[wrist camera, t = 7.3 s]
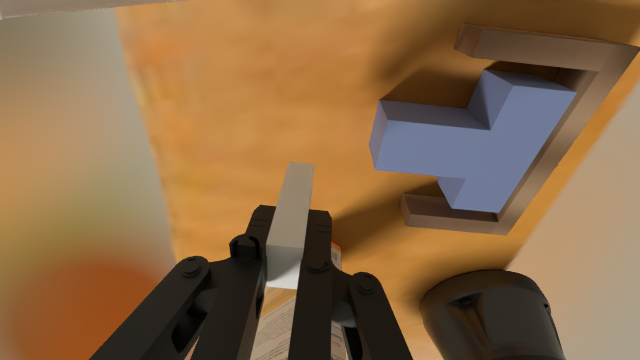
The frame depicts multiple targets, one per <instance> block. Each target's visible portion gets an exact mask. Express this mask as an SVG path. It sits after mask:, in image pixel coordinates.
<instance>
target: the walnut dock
mask: <svg viewBox="0 0 640 360" xmlns="http://www.w3.org/2000/svg"><path fill="white" fill-rule="evenodd" d="M454 49H456V50H458V51H460V52H462V53H464V54H466V55H468V56H470V57H472V58H481V59H490V60H499V61H509V62H518V63H527V64H536V65H545V66H554V67H561V68H560V70H559V72H558V74H557V75H556V77H555V79H554V80H553V82H555V83H557V84H559V85H562V86H564V87H566V88H569V89H571V90H573V91H576V92H577V94H576V95H575V97H574V98H573V100H572V101H571V103H570V105H569V106H568V108H567V109H566V111H565V112H564V114H563V115H562V117H561V118H560V120H559V121H558V123H557V125H556V126H555V128H554V129H553V131H552V132H551V134H550V135H549V137H548V138H547V140H546V141H545V143H544V145H543V146H542V148H541V149H540V151H539V152H538V154H537V155H536V157H535V158H534V160H533V161H532V163H531V165H530V166H529V168H528V169H527V171H526V172H525V174H524V175H523V177H522V178H521V180H520V181H519V183H518V184H517V186H516V188H515V189H514V191H513V192H512V194H511V195H510V197H509V198H508V200H507V201H506V203H505V204H504V206H503V208H502V209H501V211H500V212H499V213H495V212H485V211H474V210H464V209H453V208H451V206H450V205H449V203H448V201H447V199H446V197H438V196H427V195H417V194H406V193H403V195H402V198H401V201H400V204H399V206H400V209H401V212H402V216H403V219H404V222H405V225H406V226H410V227H421V228H431V229H442V230H453V231H464V232H474V233H485V234H496V235H506V236H507V234H508V233H509V231H510V230H511V229H512V227H513V226H514V224H515V223H516V222H517V220H518V219H519V217H520V216H521V215H522V213H523V212H524V211H525V209H526V208H527V206H528V205H529V204H530V202H531V201H532V199H533V198H534V197H535V195H536V194H537V192H538V191H539V190H540V188H541V187H542V186H543V184H544V183H545V181H546V180H547V179H548V177H549V176H550V174H551V173H552V172H553V170H554V169H555V167H556V166H557V165H558V163H559V162H560V161H561V159H562V158H563V156H564V155H565V154H566V152H567V151H568V149H569V148H570V147H571V145H572V144H573V142H574V141H575V140H576V138H577V137H578V136H579V134H580V133H581V131H582V130H583V129H584V127H585V126H586V124H587V123H588V122H589V120H590V119H591V117H592V116H593V115H594V113H595V112H596V111H597V109H598V108H599V106H600V105H601V104H602V102H603V101H604V99H605V98H606V97H607V95H608V94H609V92H610V91H611V90H612V88H613V87H614V86H615V84H616V83H617V81H618V80H619V79H620V77H621V76H622V74H623V73H624V72H625V70H626V69H627V67H628V66H629V65H630V63H631V62H632V61H633V59H634V58H635V56H636V55H637V54H638V52H639V51H640V47H637V46H632V45H627V44H622V43H617V42H611V41H606V40H601V39H593V38H584V37H575V36H566V35H558V34H549V33H540V32H531V31H522V30H513V29H505V28H496V27H487V26H478V25H469V24H462V26H461V29H460V32H459V35H458V38H457V41H456V43H455V46H454Z"/></svg>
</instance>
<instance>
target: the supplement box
mask: <svg viewBox="0 0 640 360" xmlns="http://www.w3.org/2000/svg"><path fill="white" fill-rule="evenodd" d="M331 259H332V262H333V264H334V265H335V266H336V267H337V268H338V269H339V270H341V271H342V264H341V248H340V247H339V246H338V245H336V244H335V243H333V242H331ZM296 293H297V289H287V288H277V287H267V282H266V286H265V290H264V302H263V307H262V311H261V315H260V319H259V324H258V328H257V332H256V336H255V341H254V345H253V349H252V353H251V358H250V360H287V359H288V352H289V345H290V337H291V330H292V323H293V315H294V308H295V301H296ZM331 360H346V351H345V342H344V338H343V334H342V330H341V326H340V324H339V323H337V322H335V321H332V320H331Z"/></svg>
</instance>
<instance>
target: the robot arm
mask: <svg viewBox="0 0 640 360" xmlns="http://www.w3.org/2000/svg"><path fill="white" fill-rule="evenodd" d="M313 172H314V164H306V163H296V162H289V165H288V168H287V172H286V175H285V179H284V182H283V186H282V189H281V193H280V196H279V200H278V203H277V207H276V206H267V205H260V206H259V207H257V208H256V209H255V210H254V212H253V214H252V217H251V220H250V222H249V225H248V227H247V230H246V232H245V234H242V235H238V236H237V237H235V238H234V239H232V241H231V242H230V243H229V247H230V254H231V257H230V258H227V259H225V260H221V261H215V262H208V260H207V259H205V258H204V257H201V256H192V257H188V258H186V259H183V260H182V261H180V262H179V263H178V264H177V265H176V266H175V267H174V268H173V269H172V270H171V272H169V274H168V275H167V276H166V277H165V278H164V279H163V280H162V281H161V282H160V283H159V284H158V285H157V286H156V287H155V289H154V290H153V291H152V292H151V293H150V294H149V295H148V296H147V297H146V298H145V299H144V300H143V302H142V303H141V304H140V305H139V306H138V307H137V308H136V309H135V310H134V311H133V312H132V313H131V315H130V316H129V317H128V318H127V319H126V320H125V321H124V322H123V323H122V324H121V325H120V326H119V328H117V330H116V331H115V332H114V333H113V334H112V335H111V336H110V337H109V338H108V339H107V341H105V343H104V344H103V345H102V346H101V347H100V348H99V349H98V350H97V351H96V352H95V353H94V354H93V356H92V357H91V358H90V359H89V360H184V359H185V357H186V356H187V354H188V353H189V351H190V350H191V348H192V347H193V345H194V343H195V342H196V340H197V339H198V337H199V339H198V341H197V344H196V346H195V349H194V351H193V354H192V356H191V359H190V360H250V358H251V353H252V349H253V345H254V341H255V336H256V332H257V328H258V324H259V319H260V315H261V311H262V307H263V302H264V290H265V286H266V282H267V287H277V288H287V289H297V293H296V301H295V308H294V315H293V323H292V330H291V337H290V345H289V352H288V359H287V360H331V320H332V321H335V322H337V323H339V324H340V326H341V330H342V334H343V338H344V342H345V346H346V350H347V354H348V358H349V360H413V358H412V356H411V353H410V351H409V349H408V346H407V344H406V342H405V339H404V337H403V334H402V332H401V330H400V327H399V325H398V323H397V320H396V318H395V316H394V313H393V311H392V309H391V306H390V304H389V301H388V299H387V297H386V294H385V292H384V290H383V287H382V285H381V283H380V282H379V280H378V279H377V278H376V277H375V276H373V275H372V274H369V273H367V272H359V273H355V274H354V275H353V276H352V275H349V274H347V273H344V272H342V271H341V270H339V269H338V268H337V267H336V266H335V265H334V264H333V262H332V259H331V231H332V218H331V216H330V214H329V212H328V211H321V210H311V209H310V203H311V193H312V183H313ZM420 313H421V316H422V320H423V324H424V327H425V329H426V331H427V333H428V334H429V336H430V338H431V339H432V341H433V343H434V344H435V346H436V348H437V349H438V351H439V352H440V354H441V356H442V357H443V359H444V360H566V359H565V357H564V354H563V351H562V348H561V344H560V340H559V337H558V334H557V331H556V327H555V324H554V322H553V319H552V317H551V309H550V305H549V303H548V301H547V299H546V297H545V296H544V294H543V293H542V291H541V290H540V289H539V287H538V286H537V284H536V283H535V282H534V281H533V280H532V279H530V278H529V277H527V276H525V275H522V274H519V273H516V272H511V271H503V270H487V271H478V272H472V273H468V274H464V275H460V276H457V277H454V278H452V279H449V280H447V281H445V282H443V283H441V284H439V285H438V286H436V287H435V288H433V289H432V290H431V291H430V292H428V293H427V294H426V296H425V297H424V298H423V300H422V302H421V305H420Z"/></svg>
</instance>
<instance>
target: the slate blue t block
mask: <svg viewBox="0 0 640 360" xmlns="http://www.w3.org/2000/svg"><path fill="white" fill-rule="evenodd" d="M576 94H577V92H576V91H573V90H571V89H569V88H566V87H564V86H562V85H559V84H557V83H555V82H552V81H550V80H548V79H545V78H543V77H541V76H538V75H533V74H524V73H515V72H506V71H496V70H487V69H483V72H482V74H481V76H480V79H479V81H478V83H477V86H476V88H475V90H474V93H473V95H472V97H471V100H470V102H469V104H468V107H467V109H464V108H455V107H445V106H436V105H426V104H417V103H407V102H398V101H388V100H379V103H378V107H377V112H376V116H375V120H374V125H373V129H372V134H371V138H370V143H369V146H370V151H371V155H372V159H373V163H374V168H375V170H382V171H392V172H402V173H412V174H423V175H433V176H438V177H437V182H438V184H439V186H440V188H441V190H442V192H443V193H444V195H445V197H446V199H447V201H448V203H449V205H450V206H451V208H453V209H464V210H474V211H485V212H495V213H499V212H500V211H501V209H502V208H503V206H504V204H505V203H506V201H507V200H508V198H509V197H510V195H511V194H512V192H513V191H514V189H515V188H516V186H517V184H518V183H519V181H520V180H521V178H522V177H523V175H524V174H525V172H526V171H527V169H528V168H529V166H530V165H531V163H532V161H533V160H534V158H535V157H536V155H537V154H538V152H539V151H540V149H541V148H542V146H543V145H544V143H545V141H546V140H547V138H548V137H549V135H550V134H551V132H552V131H553V129H554V128H555V126H556V125H557V123H558V121H559V120H560V118H561V117H562V115H563V114H564V112H565V111H566V109H567V108H568V106H569V105H570V103H571V101H572V100H573V98H574V97H575V95H576Z"/></svg>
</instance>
